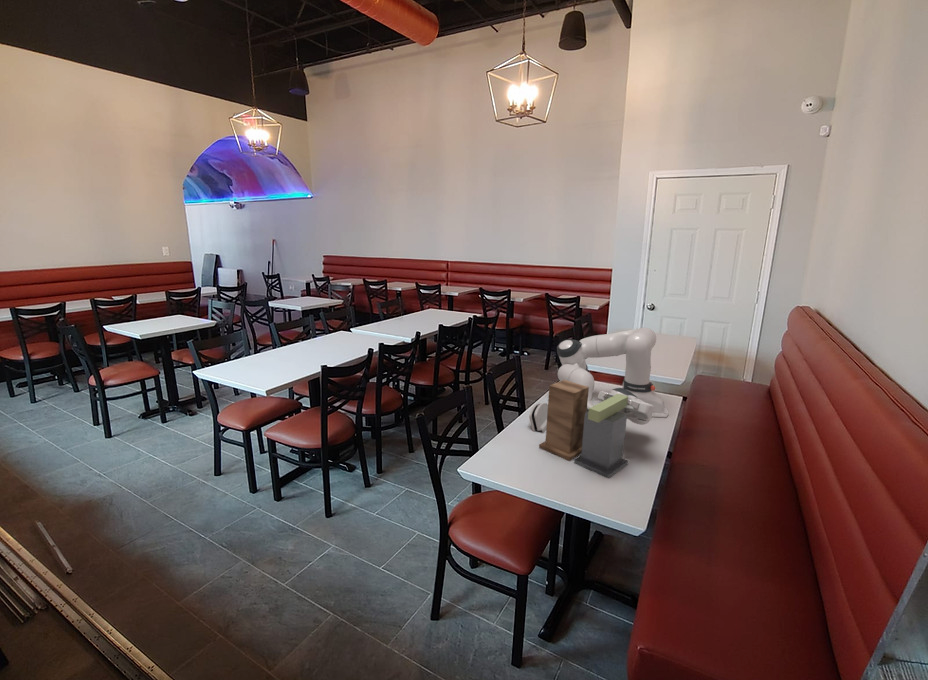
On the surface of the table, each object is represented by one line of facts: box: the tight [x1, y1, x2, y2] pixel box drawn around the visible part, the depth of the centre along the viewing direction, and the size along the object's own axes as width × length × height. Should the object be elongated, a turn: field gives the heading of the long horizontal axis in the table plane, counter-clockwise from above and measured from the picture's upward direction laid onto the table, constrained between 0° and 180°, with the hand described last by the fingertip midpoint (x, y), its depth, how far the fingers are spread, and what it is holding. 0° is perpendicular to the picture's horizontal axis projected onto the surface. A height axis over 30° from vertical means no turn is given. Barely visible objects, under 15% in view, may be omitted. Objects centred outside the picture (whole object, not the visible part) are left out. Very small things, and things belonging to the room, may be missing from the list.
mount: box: [573, 411, 629, 479], centre depth 162 cm, size 14×14×20 cm
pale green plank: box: [588, 394, 628, 423], centre depth 161 cm, size 21×4×4 cm, turn 134°
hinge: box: [528, 402, 548, 434], centre depth 196 cm, size 17×5×10 cm, turn 152°
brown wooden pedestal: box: [538, 380, 589, 462], centre depth 173 cm, size 14×14×26 cm
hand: (616, 398), depth 164 cm, fingers open, 8 cm apart
